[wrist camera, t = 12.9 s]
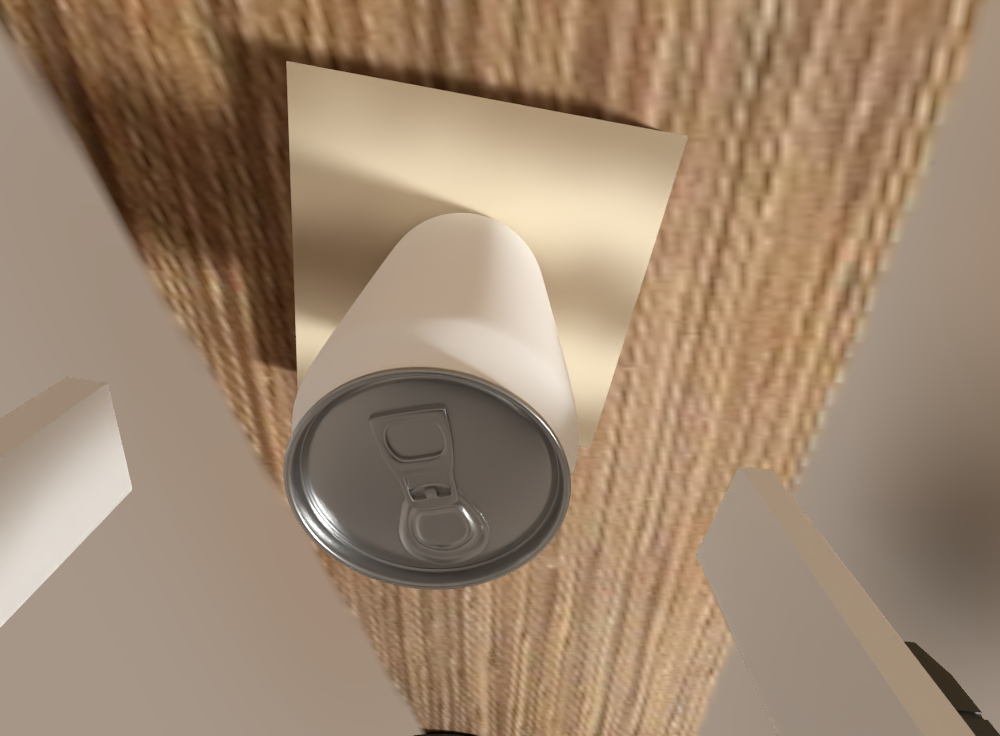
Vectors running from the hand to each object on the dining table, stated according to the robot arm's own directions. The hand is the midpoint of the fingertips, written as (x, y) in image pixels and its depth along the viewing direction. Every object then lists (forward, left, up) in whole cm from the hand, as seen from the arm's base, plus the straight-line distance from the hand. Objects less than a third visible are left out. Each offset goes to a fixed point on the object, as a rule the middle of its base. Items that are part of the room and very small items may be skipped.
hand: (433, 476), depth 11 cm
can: (0, 0, -11) cm, 11 cm away
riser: (0, 0, -14) cm, 14 cm away
